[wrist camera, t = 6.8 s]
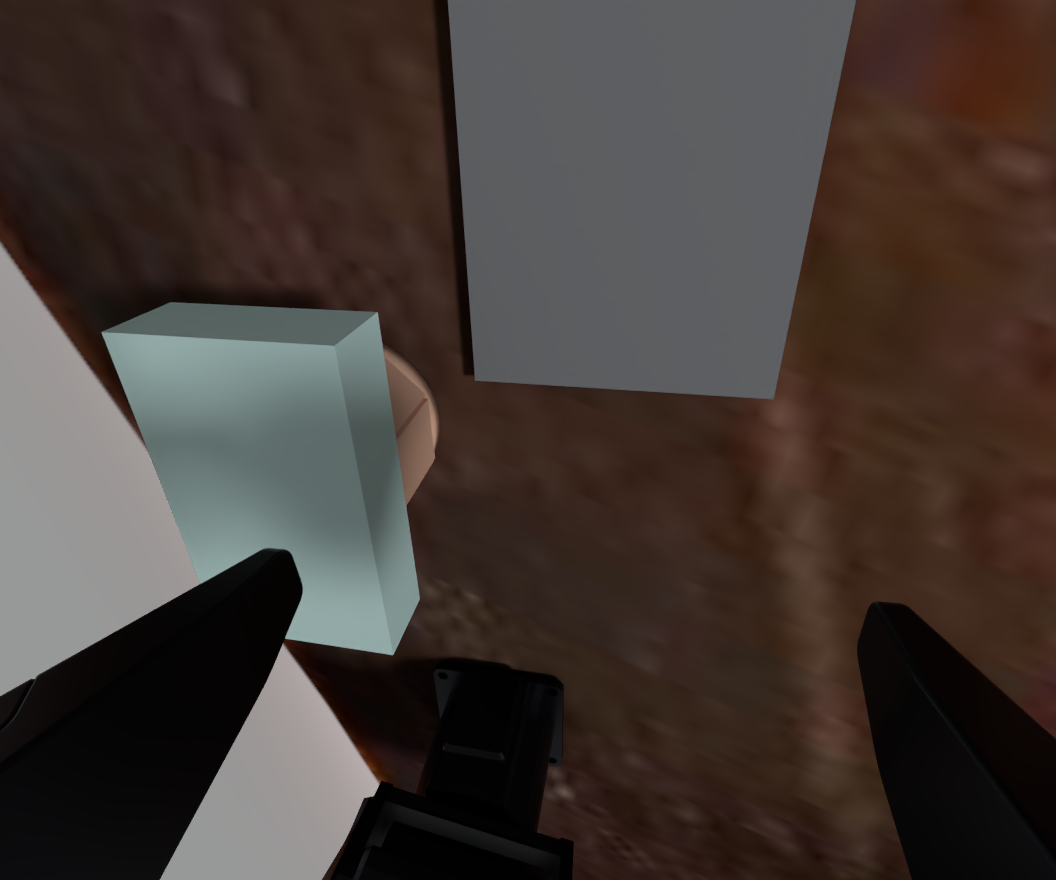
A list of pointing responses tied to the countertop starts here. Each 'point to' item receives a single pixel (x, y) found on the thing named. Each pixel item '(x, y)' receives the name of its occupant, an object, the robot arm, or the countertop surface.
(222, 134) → the countertop surface
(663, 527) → the countertop surface
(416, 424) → the nut
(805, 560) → the countertop surface
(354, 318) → the pale teal block
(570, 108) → the mat
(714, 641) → the countertop surface
